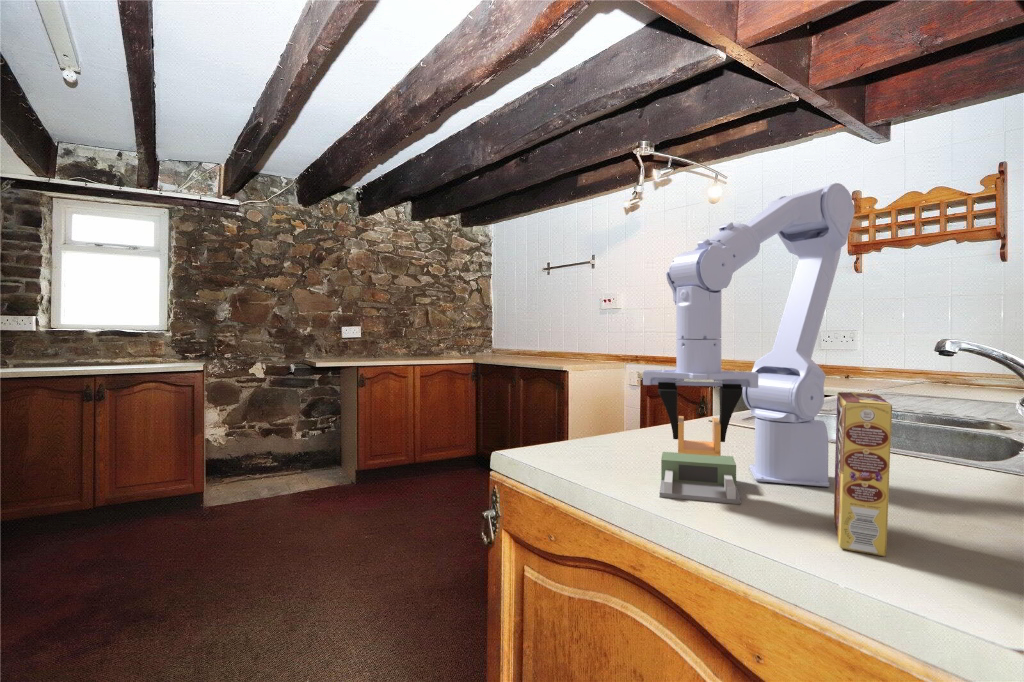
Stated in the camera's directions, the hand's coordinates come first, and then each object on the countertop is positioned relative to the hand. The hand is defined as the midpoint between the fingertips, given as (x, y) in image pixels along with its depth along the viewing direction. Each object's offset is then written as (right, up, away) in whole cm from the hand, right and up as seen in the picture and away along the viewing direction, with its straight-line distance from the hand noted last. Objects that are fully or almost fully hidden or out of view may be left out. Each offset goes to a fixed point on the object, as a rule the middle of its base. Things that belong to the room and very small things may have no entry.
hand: (698, 439), depth 70 cm
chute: (0, -1, 0) cm, 1 cm away
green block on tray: (+1, -7, +3) cm, 8 cm away
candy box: (+12, -8, -15) cm, 20 cm away
